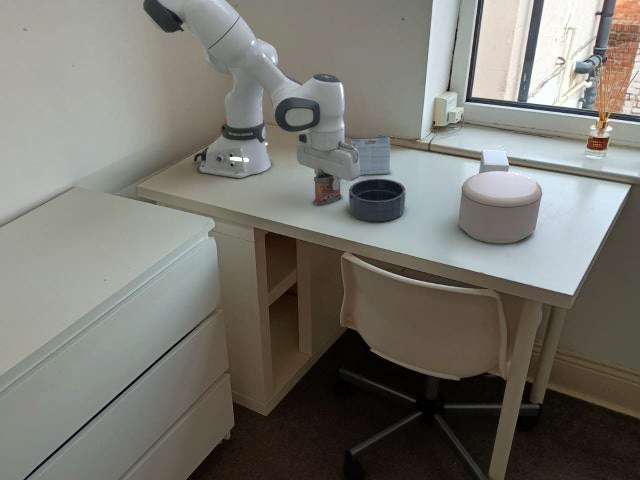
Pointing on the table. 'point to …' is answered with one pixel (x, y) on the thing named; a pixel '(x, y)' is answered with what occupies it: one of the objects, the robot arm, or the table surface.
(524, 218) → the container
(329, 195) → the lighter
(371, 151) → the ink box
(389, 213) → the bowl
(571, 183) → the table surface
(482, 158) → the cosmetics box
